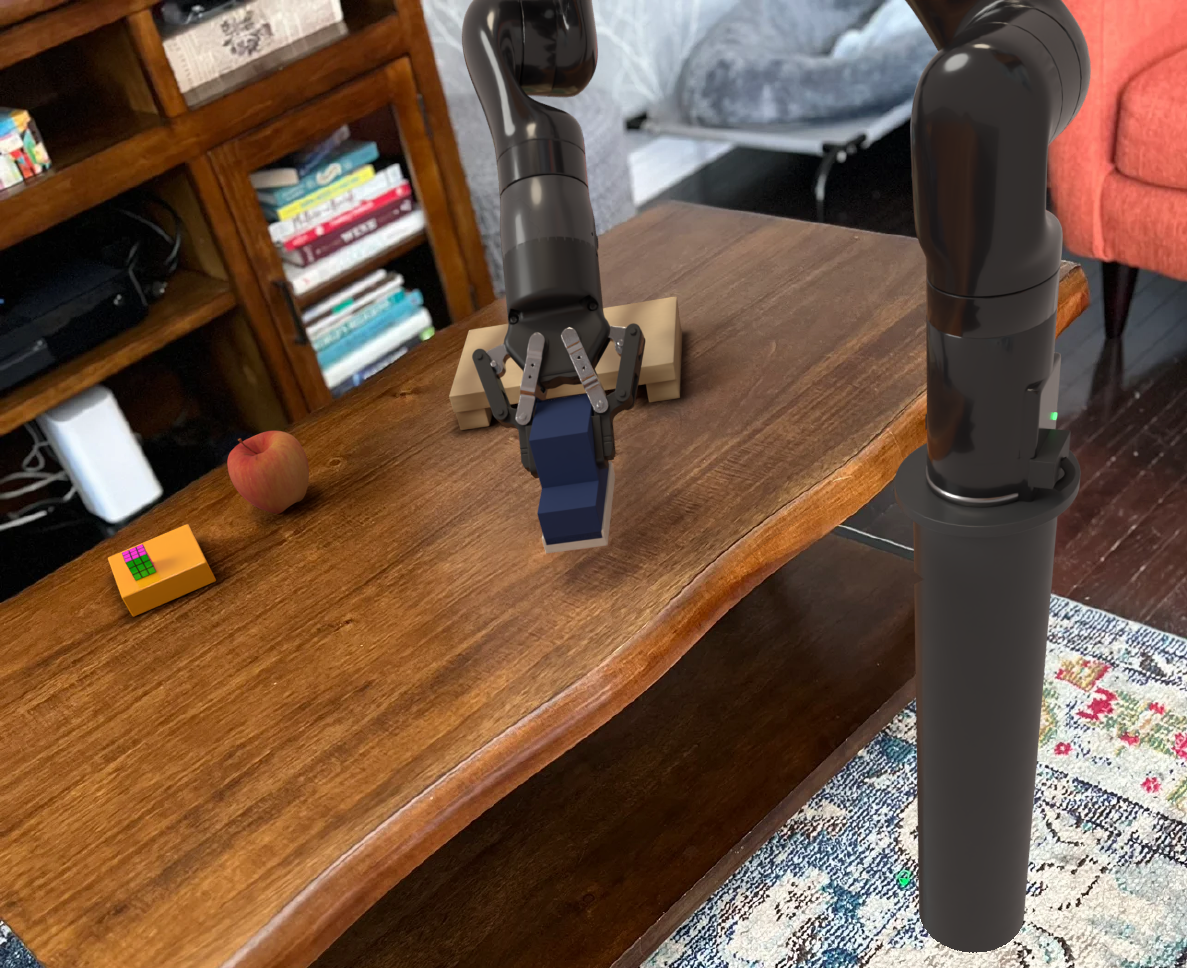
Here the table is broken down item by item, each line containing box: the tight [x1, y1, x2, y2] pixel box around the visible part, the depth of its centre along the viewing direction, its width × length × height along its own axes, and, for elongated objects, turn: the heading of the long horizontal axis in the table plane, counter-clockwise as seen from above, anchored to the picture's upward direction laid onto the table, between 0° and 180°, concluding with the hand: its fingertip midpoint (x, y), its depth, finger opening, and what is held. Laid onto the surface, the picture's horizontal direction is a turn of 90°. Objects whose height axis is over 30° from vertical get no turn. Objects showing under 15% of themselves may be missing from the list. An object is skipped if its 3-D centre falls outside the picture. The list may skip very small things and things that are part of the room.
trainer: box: [529, 393, 616, 555], centre depth 97 cm, size 10×5×8 cm, turn 176°
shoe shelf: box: [448, 296, 683, 431], centre depth 123 cm, size 22×14×4 cm, turn 86°
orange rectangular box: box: [107, 523, 217, 618], centre depth 112 cm, size 8×8×4 cm
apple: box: [226, 430, 310, 515], centre depth 116 cm, size 7×7×8 cm
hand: (570, 470), depth 96 cm, fingers closed on trainer, 4 cm apart
